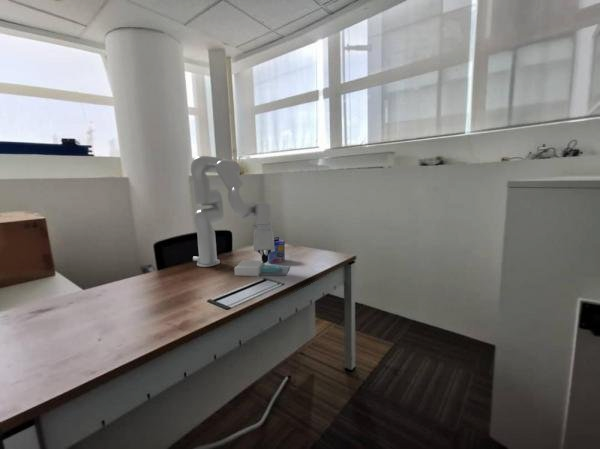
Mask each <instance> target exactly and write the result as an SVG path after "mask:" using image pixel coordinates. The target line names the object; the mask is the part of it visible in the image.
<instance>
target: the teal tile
mask: <svg viewBox="0 0 600 449" xmlns="http://www.w3.org/2000/svg"><path fill="white" fill-rule="evenodd" d="M280 267H281V265H280V264H265V265H263V266H262V267H261V268H260V270H261V272H277V273H278V272H279V270H280Z"/></svg>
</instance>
